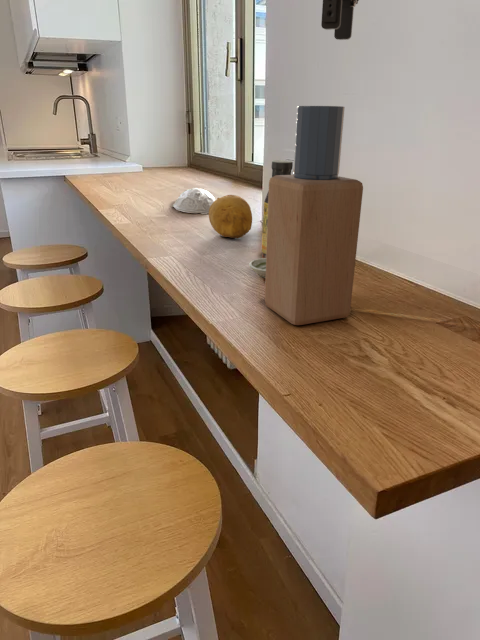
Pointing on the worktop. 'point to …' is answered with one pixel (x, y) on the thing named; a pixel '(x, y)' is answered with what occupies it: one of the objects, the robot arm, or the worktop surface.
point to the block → (311, 247)
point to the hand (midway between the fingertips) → (336, 34)
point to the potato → (230, 216)
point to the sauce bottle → (277, 169)
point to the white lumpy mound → (194, 201)
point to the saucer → (259, 266)
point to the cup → (318, 142)
